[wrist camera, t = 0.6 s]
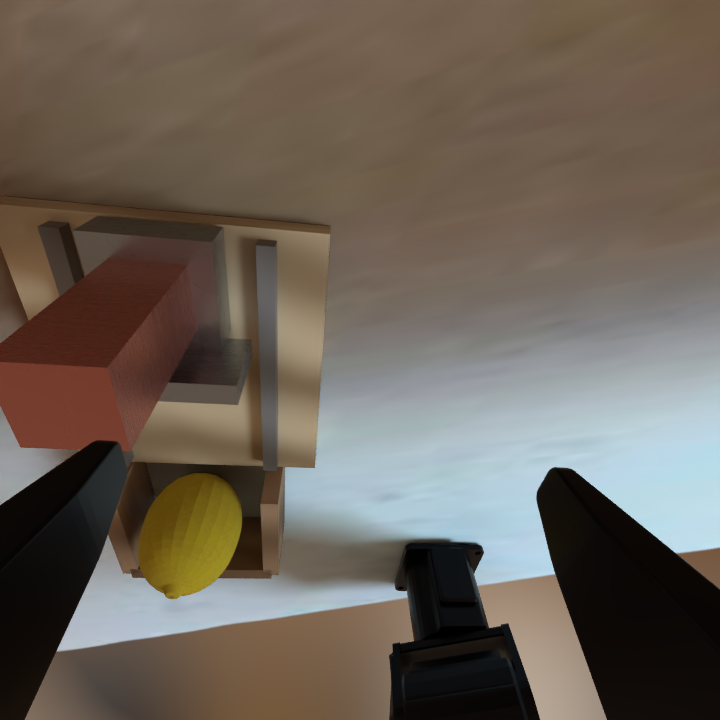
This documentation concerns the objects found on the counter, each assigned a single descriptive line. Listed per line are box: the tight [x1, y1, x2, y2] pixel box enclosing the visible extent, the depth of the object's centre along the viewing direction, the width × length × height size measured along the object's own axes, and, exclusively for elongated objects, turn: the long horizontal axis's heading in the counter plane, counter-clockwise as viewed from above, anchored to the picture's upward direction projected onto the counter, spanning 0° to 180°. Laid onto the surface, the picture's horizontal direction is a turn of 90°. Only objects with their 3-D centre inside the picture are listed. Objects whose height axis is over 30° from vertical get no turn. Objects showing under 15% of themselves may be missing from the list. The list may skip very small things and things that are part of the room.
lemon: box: [138, 473, 242, 599], centre depth 25 cm, size 6×6×8 cm
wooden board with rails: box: [0, 196, 331, 471], centre depth 22 cm, size 15×14×2 cm
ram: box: [0, 216, 252, 451], centre depth 15 cm, size 6×7×9 cm
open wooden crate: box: [108, 462, 285, 578], centre depth 27 cm, size 8×10×4 cm
